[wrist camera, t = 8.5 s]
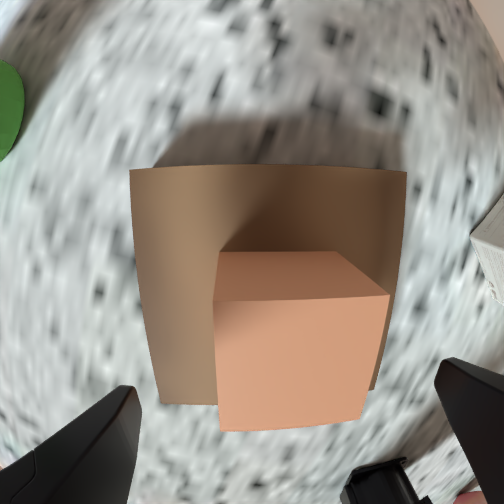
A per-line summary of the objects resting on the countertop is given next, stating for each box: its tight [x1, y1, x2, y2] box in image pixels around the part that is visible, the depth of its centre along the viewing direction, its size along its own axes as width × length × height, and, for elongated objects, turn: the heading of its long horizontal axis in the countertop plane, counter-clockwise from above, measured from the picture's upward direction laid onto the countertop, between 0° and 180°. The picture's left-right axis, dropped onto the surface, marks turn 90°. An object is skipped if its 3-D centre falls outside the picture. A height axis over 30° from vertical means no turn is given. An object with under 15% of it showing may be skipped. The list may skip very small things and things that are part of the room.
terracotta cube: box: [213, 251, 390, 431], centre depth 11 cm, size 5×5×5 cm
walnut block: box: [129, 164, 407, 405], centre depth 15 cm, size 12×12×4 cm
